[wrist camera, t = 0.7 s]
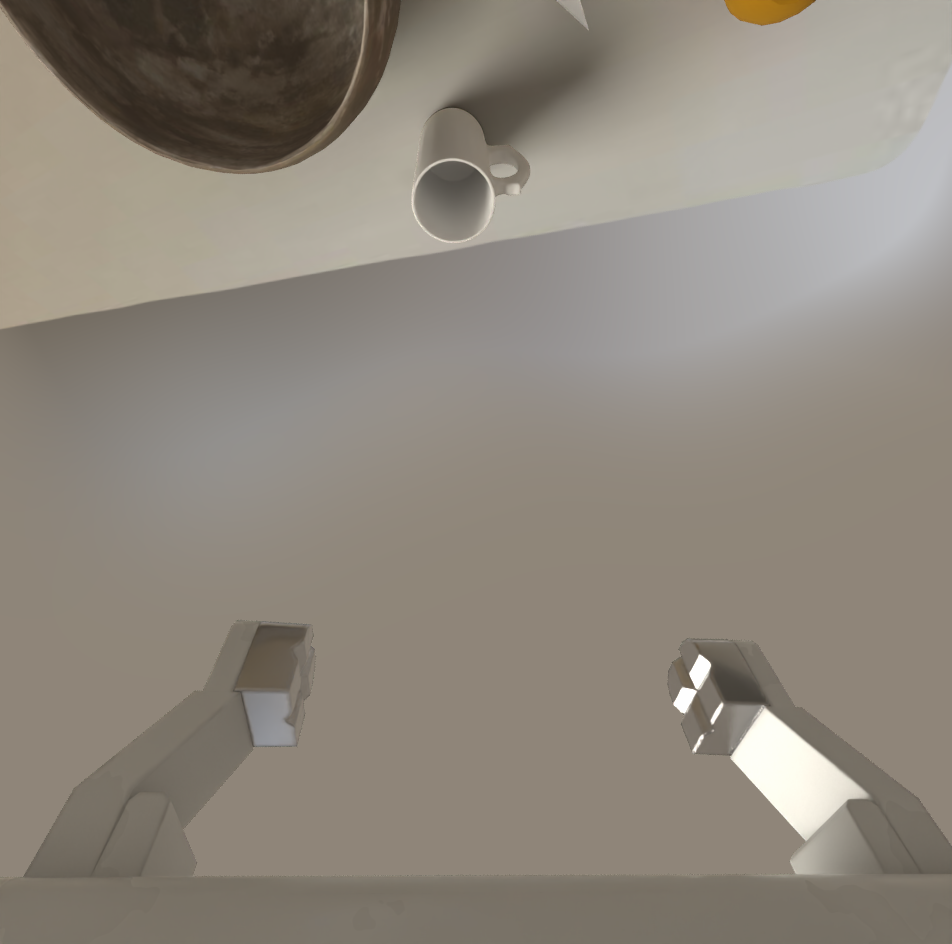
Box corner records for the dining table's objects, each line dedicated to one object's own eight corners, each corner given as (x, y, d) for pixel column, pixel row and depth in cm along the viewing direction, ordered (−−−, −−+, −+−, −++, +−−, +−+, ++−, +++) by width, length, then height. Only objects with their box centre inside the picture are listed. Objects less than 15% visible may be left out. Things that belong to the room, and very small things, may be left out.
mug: (423, 185, 53) (419, 246, 45) (410, 108, 47) (404, 162, 40) (522, 174, 52) (535, 235, 45) (521, 95, 47) (535, 148, 39)
